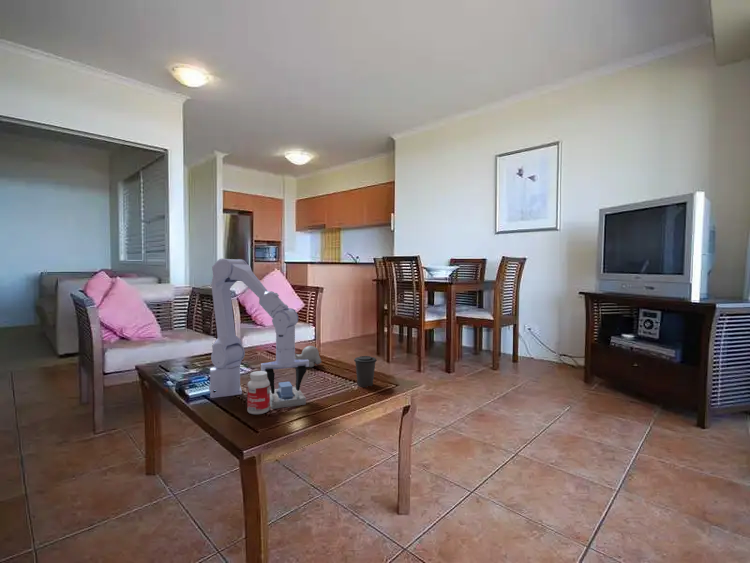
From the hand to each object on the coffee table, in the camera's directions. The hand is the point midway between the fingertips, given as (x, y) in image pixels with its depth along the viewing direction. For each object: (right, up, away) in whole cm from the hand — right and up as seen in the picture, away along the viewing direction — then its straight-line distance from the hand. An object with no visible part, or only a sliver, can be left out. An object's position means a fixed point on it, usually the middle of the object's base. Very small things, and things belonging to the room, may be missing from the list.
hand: (285, 391), depth 118 cm
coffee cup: (+25, -3, +16) cm, 30 cm away
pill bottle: (-6, -3, -9) cm, 11 cm away
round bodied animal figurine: (-1, -2, +40) cm, 40 cm away
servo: (0, -3, 0) cm, 3 cm away
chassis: (0, -3, 0) cm, 3 cm away
